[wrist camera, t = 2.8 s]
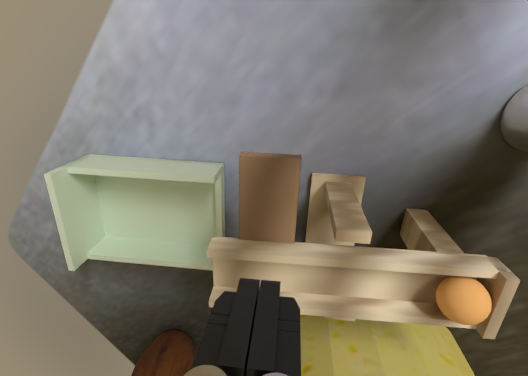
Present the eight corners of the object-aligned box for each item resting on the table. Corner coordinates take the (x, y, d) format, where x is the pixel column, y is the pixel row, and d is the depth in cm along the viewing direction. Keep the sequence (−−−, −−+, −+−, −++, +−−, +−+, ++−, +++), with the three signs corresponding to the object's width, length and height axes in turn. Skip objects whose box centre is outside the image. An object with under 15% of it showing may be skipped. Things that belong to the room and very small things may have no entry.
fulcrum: (434, 180, 29) (495, 234, 20) (413, 261, 33) (456, 337, 24) (312, 172, 30) (318, 220, 21) (304, 252, 34) (306, 322, 25)
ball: (432, 265, 22) (461, 298, 19) (475, 265, 22) (511, 297, 19) (422, 301, 23) (448, 336, 20) (463, 300, 23) (494, 335, 20)
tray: (87, 154, 32) (43, 174, 26) (224, 162, 31) (208, 185, 25) (104, 237, 36) (68, 270, 30) (225, 248, 35) (211, 284, 29)
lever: (518, 166, 20) (561, 186, 17) (467, 303, 24) (494, 339, 21) (212, 150, 21) (199, 166, 18) (216, 283, 25) (206, 315, 22)
